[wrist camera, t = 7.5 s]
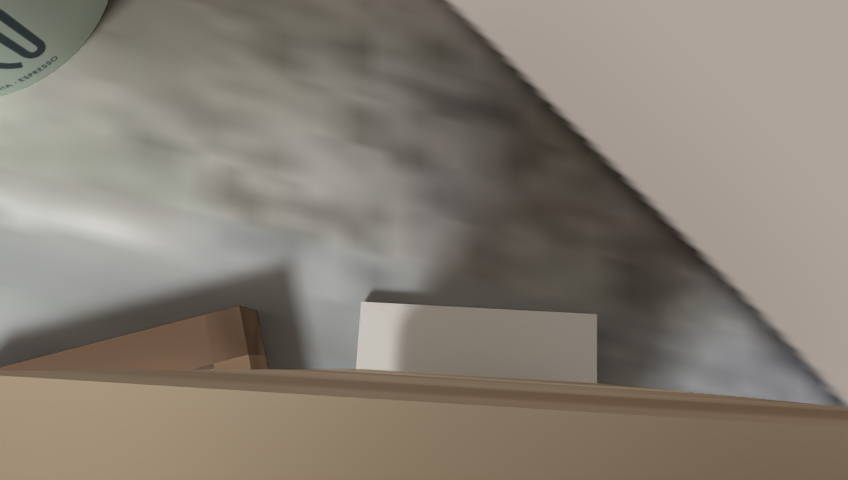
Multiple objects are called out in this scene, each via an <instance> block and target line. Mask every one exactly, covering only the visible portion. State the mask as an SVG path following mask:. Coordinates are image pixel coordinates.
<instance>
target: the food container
mask: <svg viewBox="0 0 848 480" xmlns="http://www.w3.org/2000/svg"><path fill="white" fill-rule="evenodd" d="M107 3H108V0H0V96H4V95H7V94H10V93H13V92H16V91H19V90H21V89H24V88H26V87H28V86H30V85H32V84H34V83H36V82H38V81H40V80H42V79H43V78H45V77H47V76H48V75H50V74H51V73H53V72H54V71H55V70H57V69H58V68H59V67H61V66H62V65H63V64H64V63H65V62H67V61H68V60H69V59H70V58H71V57H72V56H73V55H74V54H75V53H76V52H77V51H78V50H79V49H80V48H81V47H82V45H83V44H84V43H85V42H86V40H87V39H88V38H89V36H90V35H91V34H92V32H93V31H94V29H95V28H96V26H97V24H98V22H99V21H100V19H101V17H102V15H103V13H104V10H105V8H106V5H107Z"/></svg>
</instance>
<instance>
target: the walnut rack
mask: <svg viewBox="0 0 848 480" xmlns="http://www.w3.org/2000/svg"><path fill="white" fill-rule="evenodd" d="M210 369H214V370H268V365H267V360H266V355H265V350H264V345H263V340H262V335H261V330H260V324H259V319H258V314H257V310H253V309H250V308H246V307H242V306H236V307H232V308H228V309H224V310H220V311H216V312H212V313H208V314H205V315H201V316H197V317H193V318H189V319H185V320H181V321H177V322H174V323H170V324H166V325H162V326H158V327H154V328H150V329H146V330H143V331H139V332H135V333H131V334H127V335H123V336H119V337H115V338H112V339H108V340H104V341H100V342H96V343H92V344H88V345H84V346H81V347H77V348H73V349H69V350H65V351H61V352H57V353H53V354H49V355H46V356H42V357H38V358H34V359H30V360H26V361H22V362H18V363H15V364H11V365H7V366H3V367H0V371H34V370H210Z"/></svg>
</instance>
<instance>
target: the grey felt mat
mask: <svg viewBox="0 0 848 480" xmlns="http://www.w3.org/2000/svg"><path fill="white" fill-rule="evenodd" d="M356 369H370V370H386V371H403V372H420V373H437V374H454V375H471V376H487V377H504V378H521V379H538V380H555V381H572V382H588V383H597V314H584V313H565V312H546V311H527V310H508V309H489V308H470V307H451V306H432V305H413V304H395V303H376V302H361V311H360V324H359V337H358V350H357V363H356Z"/></svg>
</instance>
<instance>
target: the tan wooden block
mask: <svg viewBox="0 0 848 480" xmlns="http://www.w3.org/2000/svg"><path fill="white" fill-rule="evenodd" d="M0 480H848V407H838V406H828V405H817V404H807V403H797V402H786V401H776V400H766V399H755V398H745V397H735V396H725V395H714V394H704V393H694V392H683V391H673V390H663V389H652V388H642V387H632V386H621V385H611V384H601V383H588V382H572V381H555V380H538V379H521V378H504V377H487V376H471V375H454V374H437V373H420V372H403V371H386V370H370V369H268V370H34V371H0Z"/></svg>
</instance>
